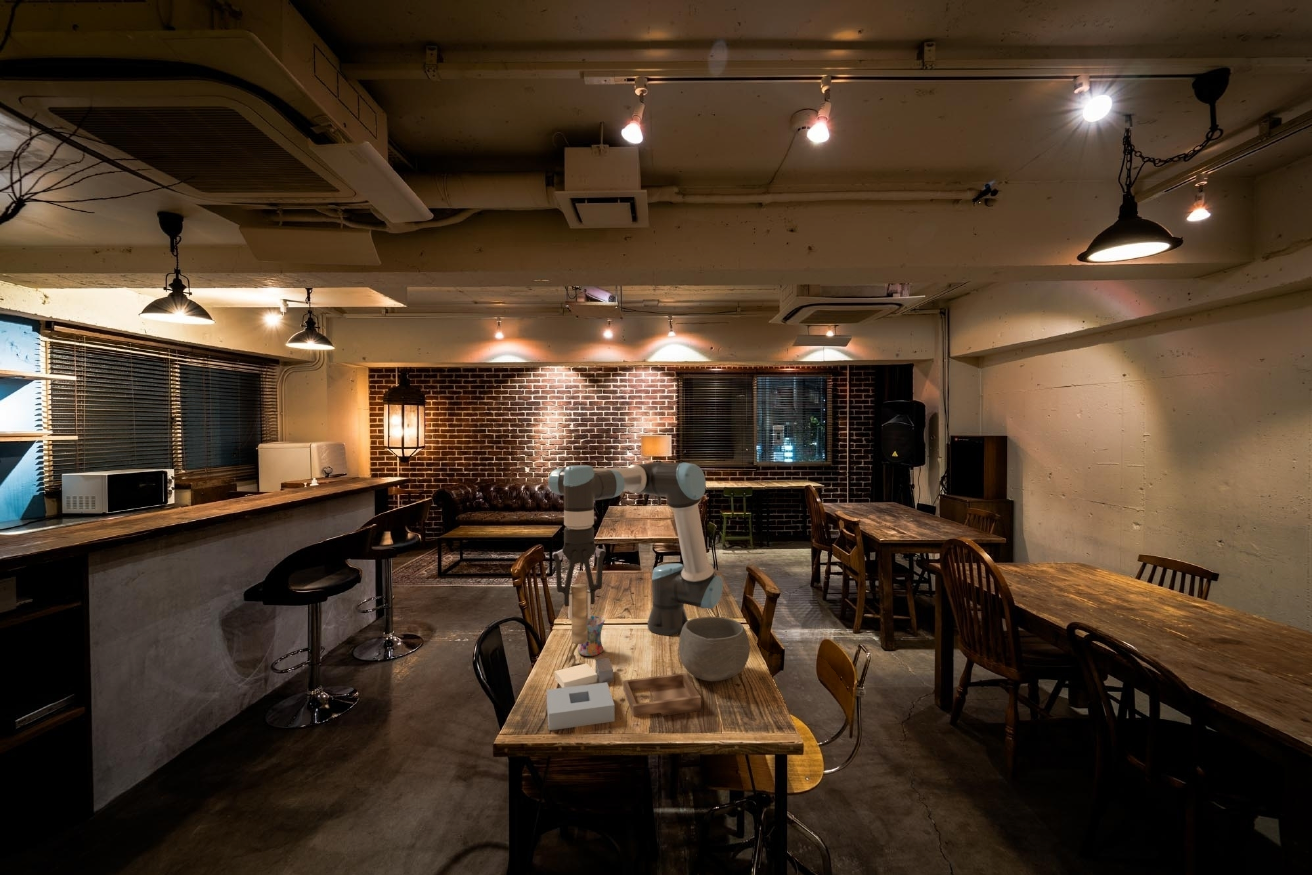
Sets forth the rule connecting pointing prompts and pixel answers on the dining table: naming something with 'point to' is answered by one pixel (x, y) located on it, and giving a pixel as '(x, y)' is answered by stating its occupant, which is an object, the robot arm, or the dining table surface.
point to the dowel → (579, 613)
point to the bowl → (713, 648)
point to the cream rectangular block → (576, 676)
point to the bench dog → (604, 670)
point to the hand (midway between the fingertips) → (579, 617)
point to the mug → (592, 637)
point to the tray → (664, 695)
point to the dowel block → (579, 706)
